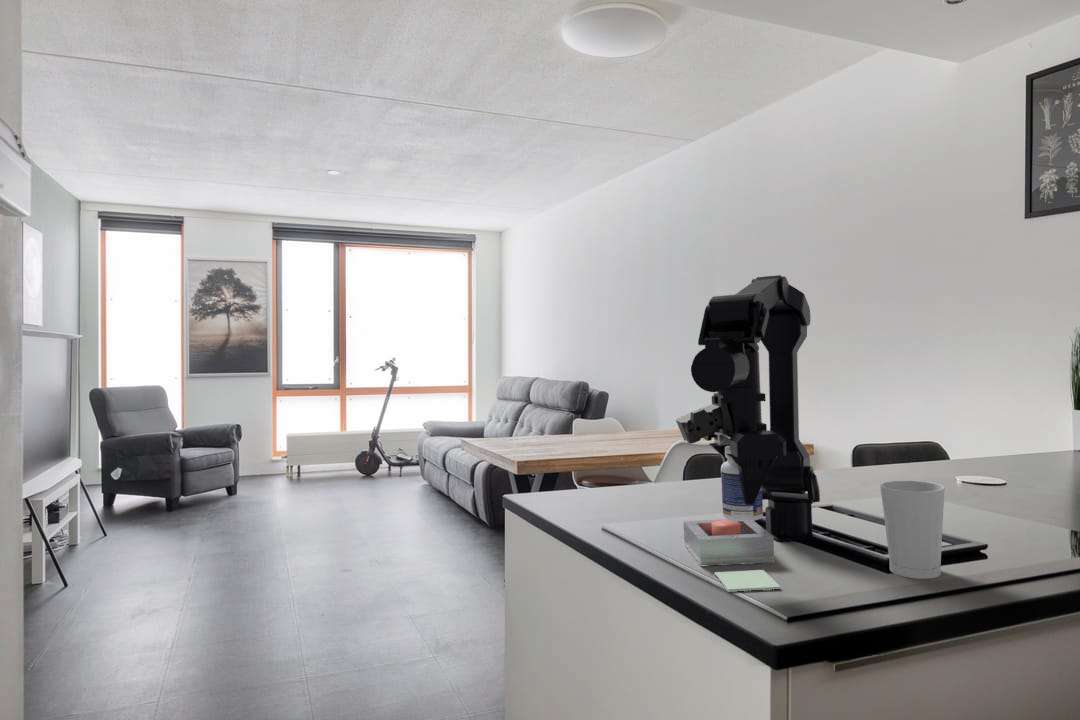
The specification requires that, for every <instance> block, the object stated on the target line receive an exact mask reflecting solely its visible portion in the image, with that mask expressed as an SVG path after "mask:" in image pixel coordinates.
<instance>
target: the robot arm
mask: <svg viewBox="0 0 1080 720" xmlns="http://www.w3.org/2000/svg"><path fill="white" fill-rule="evenodd" d="M810 325H811V309H810V305H809V303H808V300H807V298H806V295H805V293H804V292H803V291H800V290H799V289H798V288H796V287H794V286H793V285H791V284H789V280H788V279H787V277H786V276H784V275H783V276H782V275H781V274H777V275H769V276H767V275H766V276H757V277H756V278H752V280H751V282H750V283H749V284H748V285H746V286H745V287H744V288H742V289H741V290H739V291H738V292H737V293H735V294H728V295H727V294H725V295H715V296H712V297H711V298H710V299H709V301H708V304H707V305H706V306H705V310H704V313H703V319H702V323H701V328H700V331H699V335H698V342H697V345H698V346H704V348H703V349H701V350H700V351H698V353H697V354H695V355H694V358H693V359H692V363H691V366H690V373H691V376H692V379H693V381H694V382H695V384H696V386H698V387H699V388H700V389H702V390H703V391H705V392H709V393H713V395H711V404H709V405H707V406H704V407H701V408H698V409H696V410H694V411H691V412H689V413H687V414H685V415H682V416H679V417H677V418H676V419H675V421H676V424H677V426H678V429H679V431H680V434H681V436H682V438H683V441H685V442H687V443H688V444H695V443H697V442H700V441H701V439H703V440H705V441H707V442H708V441H712V439H714V443H713V442H710V443H708V446H709V447H710V448H712V449H713V450H714V451H715V452H717V454H719V455H720V457H721V460H722V464H723V463H724V462H726V461H727V458H726V457H725V447H726V446H730V450H731V454H727V456H728V457H729V458H730V459H731V460H732V461H733V462H735V463H736V464H737V466H738V470H739V475H740V480H741V485H742V490H743V495H744V499H745V503H746V504H754V502H755V500H756V498H757V496H758V493H759V491H760V489H761V486H762V501H764V500H767V505H768V506H766V507H765V509H764V510H765V512H764V513H765V530H766V531H767V532H769V533H770V534H771V535H772V536H773V539H775V540H776V541H778V542H783V541H787V542H788V541H805V540H817V539H818V536H817V535H816V534H815V533H813V514H812V512H813V511H812V509H813V508H812V504H814V503H820V502H821V494H820V493H821V492H820V485H819V482H818V478H817V477H818V476H817V475H816V473H815V470H814V468H813V466H811V459H810V458H811V456H810V454H809V452H808V451H807V450H806V447H805V446H804V445H803V442H801V440H800V436H799V435H800V427H799V425H800V422H799V379H798V378H799V376H798V375H799V374H798V370H799V369H798V352H799V351H800V348H801V346H802V345H803V343H804V341H805V340H806V338H807V337H808V327H809V326H810ZM760 341H761V343H762V344H763V346H764V347H765V349H766V351H767V352H768V385H769V386H768V389H769V391H768V392H769V396H768V397H769V429H768V426H767V423H764V422H763V421H762V420H763V419H762V402H766V392H765V393H764V392H761V374H760V373H761V371H760V353H759V351H760V347H759V343H760Z"/></svg>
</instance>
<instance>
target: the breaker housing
mask: <svg viewBox="0 0 1080 720" xmlns="http://www.w3.org/2000/svg"><path fill="white" fill-rule="evenodd" d="M721 520H728V521H735V520H729V519H727V518H723V519H722V518H721V519H704V520H684V521H683V539H684V541H683V543H684V547H685V546H686V547H687V548H688V549H687V548H686V547H685V548H686V549H687V550H689V551H690V552H691V553H692V555H693V556H694V557H695V558H694V557H693V556H692V555H691V556H692V557H693V558H694V560H695V559H696V560H697V561H698V562H699V564H700V565H721V564H722V566H725V565H724V564H741V563H742V565H746V564H745V563H762V564H774V563H775V550H774V549H775V545H774V542H775V541H774V537H773V536H772V535H771V534H770V533H769V532H767V531H766V528H764V527H762V526H761V525H759V524H758V523H757V522H756V520H755V521H736V522H739V523H740V524H741V535H720V536H712V522H715V521H721ZM689 551H688V552H689ZM690 552H689V553H690ZM691 553H690V554H691ZM696 560H695V561H696ZM697 561H696V562H697ZM698 562H697V563H698ZM770 562H771V563H770ZM743 563H744V564H743ZM699 564H698V565H699ZM700 565H699V566H700Z"/></svg>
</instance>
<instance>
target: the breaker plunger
mask: <svg viewBox="0 0 1080 720" xmlns="http://www.w3.org/2000/svg"><path fill="white" fill-rule="evenodd" d="M720 520H721V519H720ZM720 535H741V524H740V523H739V522H736V521H728V520H721V521H715V522H712V536H720Z"/></svg>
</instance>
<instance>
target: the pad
mask: <svg viewBox="0 0 1080 720" xmlns="http://www.w3.org/2000/svg"><path fill="white" fill-rule="evenodd" d="M715 575H716V576H717V577H718V578H719V580H720V581H721V582H722V584H723V585H724V586H723V585H722V584H721V585H722V586H723V587H724V589H725V590H726V592H727V593H738V592H737V591H744V592H752V591H751V590H763V591H775V590H774V589H781V585H780V584H779V583H778V582H777V581H776V580H774V579H773V578H772V576H770V575H769V574H768V573H767V572H766V571H765V570H764V569H754V570H752V569H751V570H750V569H749V570H733V571H732V570H731V571H715V572H714V576H715ZM716 576H715V577H716ZM719 580H718V581H719ZM720 581H719V582H720ZM772 589H773V590H772ZM748 590H749V591H748Z"/></svg>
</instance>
